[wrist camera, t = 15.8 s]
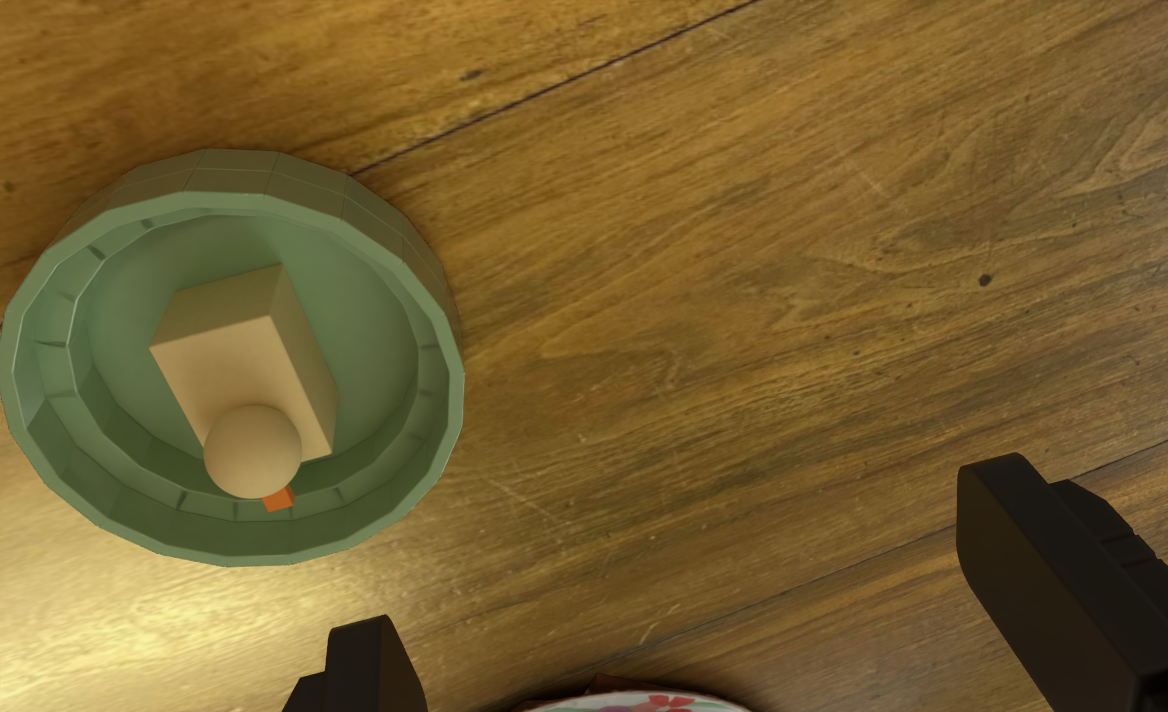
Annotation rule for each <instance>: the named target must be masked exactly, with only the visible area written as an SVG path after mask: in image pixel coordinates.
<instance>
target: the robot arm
mask: <svg viewBox="0 0 1168 712" xmlns="http://www.w3.org/2000/svg"><path fill="white" fill-rule="evenodd" d="M956 547H957V553H958V558H959V562H960V565H961V568H962V571H963V573H964V576H965V578H966V580H967V582H968V584H969V586H970V587H971V589H972V591H973V592H974V594H975V595H976V597H977V598H978V600H979V601H980V603H981V604H982V606H983V607H984V608H985V610H986V611H987V613H988V614H989V616H990V617H991V619H992V620H993V622H994V623H995V625H996V626H997V628H998V629H999V631H1000V632H1001V634H1002V635H1003V637H1004V638H1005V640H1006V641H1007V642H1008V644H1009V645H1010V647H1011V648H1012V650H1013V651H1014V653H1015V654H1016V656H1017V657H1018V659H1019V660H1020V662H1021V663H1022V665H1023V666H1024V668H1025V669H1026V671H1027V672H1028V674H1029V675H1030V677H1031V678H1032V679H1033V681H1034V682H1035V684H1036V685H1037V687H1038V688H1039V690H1040V691H1041V693H1042V694H1043V696H1044V697H1045V699H1046V700H1047V702H1048V703H1049V705H1050V706H1051V708H1052V709H1053V711H1054V712H1168V566H1167V565H1166V564H1165V563H1164V562H1163V561H1162V559H1157V558H1156V556H1155V552H1154V551H1153V550H1152V549H1151V548H1150V547H1149V546H1148V545H1147V544H1146V542H1145V541H1144V540H1143V539H1142V538H1141V537H1140V536H1139V535H1135V534H1134V532H1133V529H1132V528H1131V527H1130V525H1129V524H1128V523H1127V522H1126V521H1125V520H1124V519H1123V518H1122V517H1121V516H1120V515H1119V514H1118V513H1117V512H1116V511H1115V510H1114V508H1113V507H1112V506H1111V505H1110V504H1109V503H1108V502H1107V501H1106V500H1104V499H1103V498H1101V497H1099V496H1097V495H1095V494H1094V493H1092V492H1090V491H1088V490H1086V489H1084V488H1083V487H1081V486H1079V485H1077V484H1075V483H1074V482H1072V481H1070V480H1068V479H1066V480H1062V481H1058V482H1054V483H1051V484H1048V483H1047V482H1046V481H1045V480H1044V478H1043V477H1042V476H1041V475H1040V474H1039V473H1038V472H1037V470H1036V469H1035V468H1034V467H1033V466H1032V465H1031V464H1030V463H1029V461H1028V460H1027V459H1026V458H1025V457H1024V456H1022V455H1021V454H1019V453H1015V452H1014V453H1010V454H1006V455H1002V456H998V457H994V458H991V459H987V460H983V461H979V462H975V463H971V464H968V465H964V466H961V467H960V469H959V471H958V478H957V528H956ZM282 712H428V709H427V704H426V699H425V695H424V692H423V688H422V686H421V683H420V681H419V678H418V676H417V674H416V672H415V670H414V668H413V666H412V663H411V661H410V659H409V657H408V655H407V653H406V651H405V648H404V646H403V644H402V642H401V640H400V638H399V636H398V633H397V631H396V629H395V627H394V625H393V623H392V621H391V619H390V618H389V617H388V616H387V615H386V614H385V615H381V616H377V617H373V618H369V619H366V620H362V621H358V622H354V623H350V624H346V625H343V626H339V627H335V628H332V629H331V631H330V633H329V637H328V645H327V655H326V665H325V671H324V672H320V673H316V674H312V675H308V676H305V677H301V678H300V679H299V681H298V682H297V684H296V686H295V688H294V690H293V692H292V693H291V695H290V697H289V699H288V701H287V703H286V705H285V706H284V708H283V710H282Z"/></svg>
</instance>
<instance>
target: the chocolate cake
mask: <svg viewBox="0 0 1168 712" xmlns="http://www.w3.org/2000/svg"><path fill="white" fill-rule="evenodd" d="M510 712H754V711H752V710H750V709H748V708H746V707H745V706H744V705H742V704H739V703H737V702H734V701H730V700H725V699H720V698H718V697H716V696H713V695H708V694H702V693H697V692H693V691H691V692H690V691H685V690H680V689H673V688H667V687H662V686H657V685H652V684H647V683H642V682H637V681H632V680H627V679H622V678H618V677H613V676H608V675H603V674H597V675H596V677H595V678H594V680H593V681H592V683H591V684H590V686H589V687H588V689H587V691H586V692H585V694H582V695H578V696H574V697H566V698H563V699H554V700H528V701H523V702H522V703H521V704H519V705H518V706H517V707H515V708H514V709H513V710H511V711H510Z"/></svg>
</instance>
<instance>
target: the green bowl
mask: <svg viewBox="0 0 1168 712" xmlns="http://www.w3.org/2000/svg"><path fill="white" fill-rule="evenodd" d="M277 264H283V265H284V267H285V269H286V272H287V274H288V276H289V279H290V281H291V283H292V286H293V288H294V290H295V293H296V295H297V297H298V299H299V302H300V304H301V306H302V309H303V311H304V313H305V316H306V318H307V320H308V323H309V325H310V327H311V330H312V332H313V334H314V337H315V339H316V341H317V344H318V346H319V348H320V351H321V353H322V355H323V357H324V360H325V362H326V364H327V367H328V369H329V371H330V374H331V376H332V378H333V381H334V383H335V385H336V388H337V390H338V392H339V396H338V404H337V413H336V422H335V431H334V440H333V449H332V453H331V454H329V455H325V456H322V457H318V458H314V459H311V460H307V461H303V462H300V466H299V468H298V470H297V472H296V474H295V476H294V477H293V478H292V480H291V481H290V482H289V483H288V484H289V486H290V488H291V490H292V492H293V494H294V496H295V498H294V504H293V506H290V507H286V508H283V509H279V510H275V511H272V512H268V510H267V508H266V507H265V505H264V503H263V501H262V499H261V498H255V499H248V498H240V497H237V496H233V495H231V494H229V493H227V492H225V491H224V490H222V489H221V488H220V487H219V486H217V485H216V484H215V482H214V481H213V480H212V479H211V477H210V475H209V474H208V472H207V470H206V466H205V463H204V455H203V451H204V448H203V447H202V445H201V443H200V441H199V439H198V437H197V436H196V434H195V432H194V430H193V428H192V427H191V425H190V423H189V421H188V419H187V417H186V416H185V414H184V412H183V410H182V408H181V406H180V405H179V403H178V401H177V399H176V397H175V395H174V394H173V392H172V390H171V388H170V386H169V384H168V383H167V381H166V379H165V377H164V375H163V373H162V372H161V370H160V368H159V366H158V364H157V362H156V361H155V359H154V357H153V355H152V353H151V351H150V350H149V345H150V343H151V341H152V338H153V336H154V334H155V332H156V330H157V328H158V326H159V323H160V321H161V319H162V317H163V315H164V313H165V310H166V308H167V306H168V304H169V302H170V300H171V298H172V295H173V293H174V292H176V291H180V290H184V289H187V288H191V287H195V286H199V285H202V284H206V283H210V282H214V281H217V280H221V279H225V278H229V277H232V276H236V275H240V274H244V273H247V272H251V271H255V270H259V269H262V268H266V267H270V266H274V265H277ZM464 387H465V366H464V356H463V346H462V336H461V326H460V318H459V314H458V311H457V308H456V305H455V302H454V299H453V296H452V293H451V290H450V287H449V284H448V281H447V278H446V275H445V272H444V269H443V266H442V265H441V262H440V261H439V259H438V258H437V257H436V255H435V254H434V253H433V252H432V250H431V249H430V248H429V246H428V245H427V244H426V242H425V241H424V240H423V238H422V237H421V236H420V234H419V233H418V232H417V231H416V229H415V228H414V227H413V225H412V224H411V223H410V221H409V220H408V219H407V217H406V216H405V215H403V213H402V212H400V211H399V210H397V209H396V208H395V207H393V206H392V205H390V204H389V203H387V202H386V201H385V200H383V199H382V198H380V197H379V196H377V195H376V194H375V193H373V192H372V191H370V190H369V189H368V188H366V187H365V186H363V185H362V184H360V183H359V182H358V181H356V180H355V179H353V178H352V177H351V176H349V175H347V174H344V173H341V172H338V171H335V170H332V169H329V168H327V167H324V166H321V165H318V164H315V163H312V162H309V161H306V160H303V159H300V158H297V157H294V156H291V155H288V154H285V153H282V152H278V151H258V150H236V149H213V148H207V149H206V150H205V149H201V150H197V151H193V152H189V153H186V154H182V155H178V156H174V157H170V158H167V159H163V160H159V161H155V162H151V163H148V164H144V165H140V166H138V167H135V168H133V169H132V170H130V171H129V172H127V173H126V174H124V175H123V176H121V177H120V178H118V179H117V180H115V181H114V182H112V183H111V184H109V185H108V186H106V187H105V188H103V189H102V190H100V191H99V192H97V193H96V194H95V195H93V196H92V197H90V198H89V199H87V200H86V201H84V202H83V203H82V204H81V205H80V206H79V207H78V208H77V209H76V211H75V212H74V213H73V215H72V216H71V217H70V218H69V220H68V221H67V222H66V223H65V225H64V226H63V227H62V229H61V230H60V231H59V232H58V233H57V235H56V236H55V237H54V239H53V240H52V241H51V242H50V244H49V245H48V246H47V247H46V249H45V250H44V251H43V252H42V254H41V255H40V257H39V258H38V260H37V261H36V263H35V264H34V266H33V267H32V269H31V270H30V272H29V273H28V274H27V276H26V277H25V279H24V280H23V282H22V283H21V285H20V286H19V288H18V289H17V291H16V292H15V294H14V295H13V297H12V298H11V300H10V301H9V303H8V304H7V306H6V308H5V312H4V318H3V323H2V329H1V335H0V395H1V399H2V403H3V407H4V411H5V415H6V419H7V424H8V428H9V431H10V433H11V435H12V436H13V438H14V439H15V441H16V442H17V444H18V445H19V447H20V448H21V449H22V451H23V452H24V454H25V455H26V457H27V458H28V460H29V461H30V463H31V464H32V466H33V467H34V469H35V470H36V472H37V473H38V475H39V476H40V478H41V479H42V480H43V482H44V483H45V484H47V487H49V488H50V489H51V490H52V491H54V492H55V493H56V494H57V495H59V496H60V497H61V498H62V499H64V500H65V501H66V502H67V503H69V504H70V505H71V506H72V507H74V508H75V509H76V510H77V511H79V512H80V513H81V514H82V515H84V516H85V517H86V518H87V519H89V520H90V521H91V522H92V523H93V524H95V525H96V526H99V528H101V529H104V530H106V531H108V532H110V533H112V534H115V535H117V536H119V537H121V538H124V539H126V540H128V541H130V542H133V543H135V544H137V545H139V546H141V547H144V548H146V549H148V550H150V551H153V552H155V553H157V554H160V555H164V556H169V557H174V558H180V559H185V560H190V561H195V562H200V563H206V564H211V565H216V566H221V567H225V566H226V567H249V566H278V565H290V564H291V565H293V564H297V563H300V562H304V561H308V560H311V559H315V558H318V557H322V556H326V555H329V554H333V553H337V552H340V551H344V550H348V549H350V548H353V547H354V546H356V545H358V544H360V543H361V542H363V541H365V540H366V539H368V538H370V537H372V536H373V535H375V534H377V533H379V532H380V531H382V530H384V529H385V528H387V527H389V526H391V525H392V524H394V523H396V522H398V521H399V520H401V519H402V518H404V516H405V515H406V514H407V513H408V512H409V511H410V510H411V509H412V508H413V507H414V506H415V505H416V504H417V503H418V501H419V500H420V499H421V498H422V497H423V496H424V495H425V494H426V493H427V492H428V491H429V490H430V489H431V487H432V486H433V485H434V484H435V483H436V482H437V481H438V480H439V479H440V477H441V475H442V473H443V471H444V469H445V466H446V464H447V462H448V459H449V457H450V455H451V453H452V450H453V448H454V446H455V443H456V441H457V439H458V437H459V434H460V432H461V430H462V427H463V410H464Z"/></svg>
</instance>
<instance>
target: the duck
mask: <svg viewBox="0 0 1168 712" xmlns="http://www.w3.org/2000/svg"><path fill="white" fill-rule="evenodd" d="M149 350H150V351H151V353H152V355H153V357H154V359H155V361H156V362H157V364H158V366H159V368H160V370H161V372H162V373H163V375H164V377H165V379H166V381H167V383H168V384H169V386H170V388H171V390H172V392H173V394H174V395H175V397H176V399H177V401H178V403H179V405H180V406H181V408H182V410H183V412H184V414H185V416H186V417H187V419H188V421H189V423H190V425H191V427H192V428H193V430H194V432H195V434H196V436H197V437H198V439H199V441H200V443H201V445H202V447H203V448H204V451H203V455H204V463H205V466H206V470H207V472H208V474H209V475H210V477H211V479H212V480H213V481H214V482H215V484H216V485H217V486H219V487H220V488H221V489H222V490H224V491H225V492H227V493H229V494H231V495H233V496H237V497H240V498H248V499H255V498H261V499H262V501H263V503H264V505H265V507H266V508H267V510H268V512H272V511H275V510H279V509H283V508H286V507H290V506H293V504H294V498H295V496H294V494H293V492H292V490H291V488H290V486H289V484H288V483H289V482H290V481H291V480H292V478H293V477H294V476H295V474H296V472H297V470H298V468H299V466H300V462H303V461H307V460H311V459H314V458H318V457H322V456H325V455H329V454H331V453H332V449H333V440H334V431H335V422H336V413H337V404H338V396H339V392H338V390H337V388H336V385H335V383H334V381H333V378H332V376H331V374H330V371H329V369H328V367H327V364H326V362H325V360H324V357H323V355H322V353H321V351H320V348H319V346H318V344H317V341H316V339H315V337H314V334H313V332H312V330H311V327H310V325H309V323H308V320H307V318H306V316H305V313H304V311H303V309H302V306H301V304H300V302H299V299H298V297H297V295H296V293H295V290H294V288H293V286H292V283H291V281H290V279H289V276H288V274H287V272H286V269H285V267H284V265H283V264H277V265H274V266H270V267H266V268H262V269H259V270H255V271H251V272H247V273H244V274H240V275H236V276H232V277H229V278H225V279H221V280H217V281H214V282H210V283H206V284H202V285H199V286H195V287H191V288H187V289H184V290H180V291H176V292H174V293H173V295H172V298H171V300H170V302H169V304H168V306H167V308H166V310H165V313H164V315H163V317H162V319H161V321H160V323H159V326H158V328H157V330H156V332H155V334H154V336H153V338H152V341H151V343H150V345H149Z"/></svg>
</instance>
